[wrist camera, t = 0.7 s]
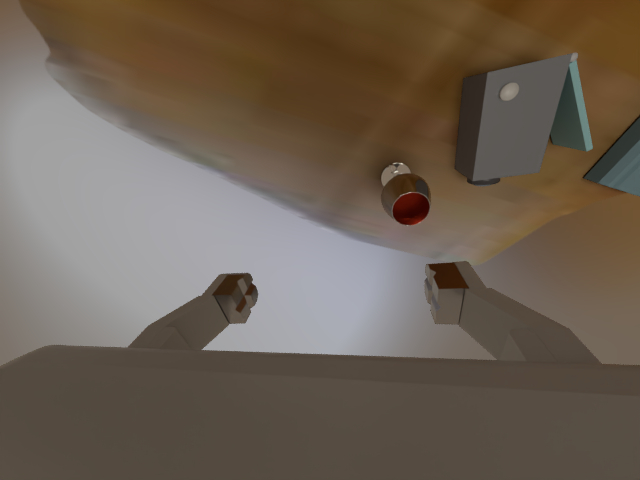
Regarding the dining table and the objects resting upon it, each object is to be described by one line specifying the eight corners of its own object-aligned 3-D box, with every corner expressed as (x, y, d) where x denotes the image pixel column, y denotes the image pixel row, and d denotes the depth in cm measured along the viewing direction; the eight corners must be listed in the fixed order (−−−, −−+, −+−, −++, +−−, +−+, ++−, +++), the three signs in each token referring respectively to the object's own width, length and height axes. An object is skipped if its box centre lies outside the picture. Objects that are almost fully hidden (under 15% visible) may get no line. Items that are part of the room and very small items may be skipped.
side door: (530, 64, 38) (568, 56, 31) (545, 55, 37) (586, 44, 30) (551, 144, 43) (587, 152, 36) (564, 137, 42) (603, 144, 35)
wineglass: (406, 198, 53) (425, 237, 38) (372, 190, 53) (377, 225, 38) (421, 162, 48) (449, 190, 33) (383, 154, 49) (394, 178, 33)
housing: (463, 78, 40) (489, 72, 32) (529, 63, 38) (576, 52, 30) (453, 178, 49) (472, 194, 41) (507, 171, 47) (538, 186, 39)
